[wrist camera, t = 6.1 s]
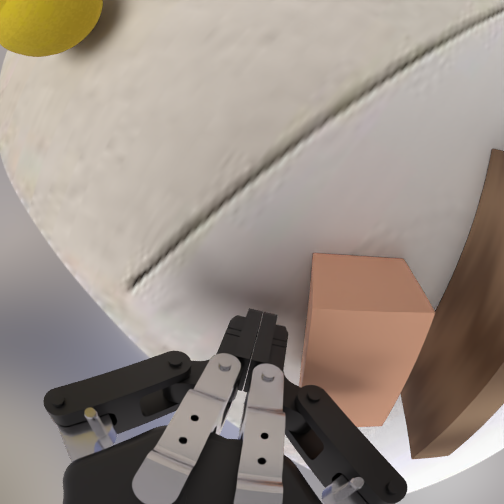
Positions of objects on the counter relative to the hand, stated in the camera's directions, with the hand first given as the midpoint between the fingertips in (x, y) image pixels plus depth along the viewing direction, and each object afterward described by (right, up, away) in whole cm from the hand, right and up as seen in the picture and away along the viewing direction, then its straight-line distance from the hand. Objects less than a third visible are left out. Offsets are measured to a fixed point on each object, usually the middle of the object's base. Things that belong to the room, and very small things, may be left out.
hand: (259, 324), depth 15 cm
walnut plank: (+13, +2, -1) cm, 13 cm away
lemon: (-10, +18, -3) cm, 21 cm away
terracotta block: (+5, 0, +1) cm, 5 cm away
